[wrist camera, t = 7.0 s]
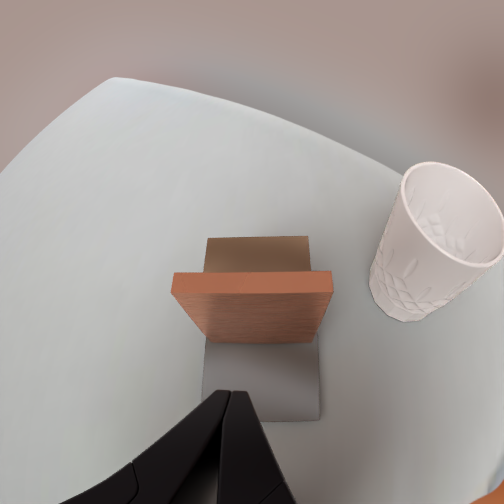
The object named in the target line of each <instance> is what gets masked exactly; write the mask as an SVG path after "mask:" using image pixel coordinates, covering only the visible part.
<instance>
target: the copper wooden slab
mask: <svg viewBox="0 0 504 504" xmlns="http://www.w3.org/2000/svg"><path fill="white" fill-rule="evenodd" d="M171 294H172V295H173V296H174V297H175V299H176V300H177V301H178V303H179V304H180V305H181V306H182V308H183V309H184V310H185V311H186V313H187V314H188V315H189V316H190V318H191V319H192V320H193V321H194V322H195V324H196V325H197V326H198V327H199V329H200V330H201V331H202V332H203V333H204V335H205V336H206V337H207V338H208V339H209V340H210V342H212V343H249V344H281V343H312V341H313V339H314V336H315V334H316V332H317V330H318V327H319V325H320V323H321V320H322V318H323V316H324V313H325V311H326V309H327V306H328V304H329V302H330V299H331V297H332V294H333V282H332V273H331V271H303V272H227V273H174V276H173V282H172V288H171Z"/></svg>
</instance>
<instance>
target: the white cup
mask: <svg viewBox="0 0 504 504" xmlns="http://www.w3.org/2000/svg"><path fill="white" fill-rule="evenodd" d="M503 255H504V218H503V215H502V213H501V211H500V209H499V207H498V205H497V204H496V202H495V200H494V199H493V198H492V196H491V195H490V194H489V193H488V192H487V190H486V189H484V187H483V186H482V185H481V184H480V183H479V182H477V181H476V180H475V179H474V178H472V177H471V176H469V175H468V174H466V173H465V172H463V171H461V170H459V169H457V168H455V167H452V166H450V165H447V164H443V163H438V162H422V163H418V164H416V165H414V166H412V167H410V168H409V169H408V170H407V171H406V172H405V174H404V176H403V178H402V181H401V184H400V187H399V190H398V193H397V196H396V199H395V202H394V205H393V208H392V211H391V213H390V216H389V219H388V222H387V224H386V227H385V229H384V232H383V236H382V238H381V241H380V243H379V246H378V250H377V254H376V257H375V259H374V261H373V263H372V266H371V268H370V277H369V287H370V290H371V293H372V295H373V298H374V301H375V303H376V304H377V305H378V306H379V307H380V308H381V309H382V310H383V311H384V312H385V313H386V314H387V315H388V316H390V317H393V318H395V319H397V320H400V321H402V322H409V321H420V320H421V319H423V318H424V317H426V316H427V315H428V314H430V313H431V312H433V311H434V310H436V309H437V308H440V307H442V306H444V305H445V304H447V303H448V302H450V301H451V300H453V299H454V298H455V297H456V296H458V295H459V294H460V293H462V292H463V291H464V290H465V289H467V288H468V287H469V286H470V285H472V284H473V283H474V282H475V281H476V280H478V279H479V278H480V277H481V276H482V275H484V274H485V273H486V272H487V271H488V270H489V269H490V268H492V267H493V266H494V265H495V264H496V263H497V262H498V261H499V260H500V259H501V258H502V257H503Z"/></svg>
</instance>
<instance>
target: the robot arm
mask: <svg viewBox="0 0 504 504" xmlns="http://www.w3.org/2000/svg"><path fill="white" fill-rule="evenodd" d="M60 504H297V502H296V500H295V498H294V497H293V495H292V493H291V491H290V489H289V486H288V484H287V482H285V478H284V476H283V474H282V472H281V469H280V467H279V465H278V463H277V460H276V458H275V456H274V454H273V451H272V449H271V447H270V444H269V442H268V440H267V437H266V435H265V433H264V430H263V428H262V426H261V423H260V421H259V418H258V416H257V413H256V411H255V409H254V406H253V404H252V401H251V399H250V396H249V394H248V392H247V391H240V390H234V391H232V392H231V391H230V390H220V389H218V390H215V391H214V392H213V393H212V394H210V395H209V396H208V397H207V398H206V399H205V400H204V401H203V402H202V403H201V404H199V405H198V406H197V407H196V408H195V409H194V410H193V411H192V412H190V413H189V414H188V415H187V416H186V417H185V418H184V419H182V420H181V421H180V422H179V423H178V424H177V425H175V426H174V427H173V428H172V429H171V430H169V431H168V432H167V433H166V434H165V435H163V436H162V437H161V438H160V439H159V440H157V441H156V442H155V443H154V444H152V445H151V446H150V447H149V448H148V449H146V450H145V451H144V452H142V453H141V454H140V455H139V456H137V457H136V458H135V459H134V460H132V462H129V463H128V464H127V465H126V466H124V467H123V468H122V469H120V470H119V471H117V472H116V473H114V474H113V475H112V476H110V477H109V478H107V479H106V480H104V481H102V482H101V483H99V484H97V485H95V486H94V487H92V488H90V489H88V490H86V491H84V492H83V493H81V494H79V495H76V496H74V497H72V498H70V499H68V500H66V501H64V502H62V503H60Z"/></svg>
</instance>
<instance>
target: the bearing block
mask: <svg viewBox="0 0 504 504" xmlns="http://www.w3.org/2000/svg"><path fill="white" fill-rule="evenodd" d="M303 271H311V266H310V253H309V242H308V236H280V237H232V238H208V241H207V248H206V255H205V263H204V271H203V273H227V272H303ZM218 389H220V390H230V391H231V392H232V391H234V390H240V391H247V392H248V394H249V396H250V399H251V401H252V404H253V406H254V409H255V411H256V413H257V416H258V418H259V421H260V422H289V421H314V420H319V358H318V334H317V332H316V334H315V336H314V339H313V341H312V343H281V344H249V343H212V342H210V340H209V339H208V338H207V337H206V345H205V357H204V370H203V383H202V398H201V403H202V402H203V401H204V400H205V399H206V398H207V397H208V396H209V395H210V394H212V393H213V392H214V391H215V390H218Z"/></svg>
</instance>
